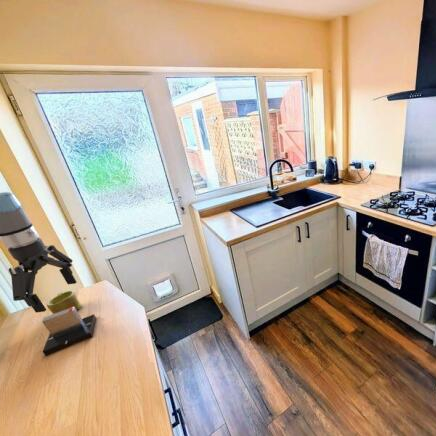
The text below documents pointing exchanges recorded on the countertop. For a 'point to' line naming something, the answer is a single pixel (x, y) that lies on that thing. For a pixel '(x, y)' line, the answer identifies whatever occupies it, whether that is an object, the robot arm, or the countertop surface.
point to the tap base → (71, 337)
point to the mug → (63, 302)
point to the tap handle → (63, 322)
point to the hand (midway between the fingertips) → (58, 296)
